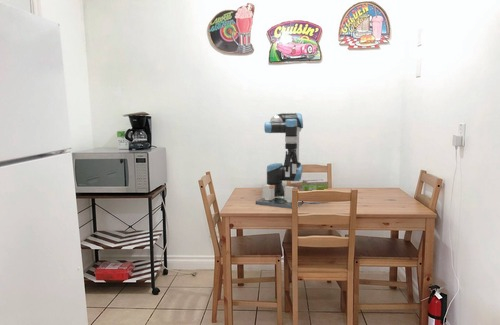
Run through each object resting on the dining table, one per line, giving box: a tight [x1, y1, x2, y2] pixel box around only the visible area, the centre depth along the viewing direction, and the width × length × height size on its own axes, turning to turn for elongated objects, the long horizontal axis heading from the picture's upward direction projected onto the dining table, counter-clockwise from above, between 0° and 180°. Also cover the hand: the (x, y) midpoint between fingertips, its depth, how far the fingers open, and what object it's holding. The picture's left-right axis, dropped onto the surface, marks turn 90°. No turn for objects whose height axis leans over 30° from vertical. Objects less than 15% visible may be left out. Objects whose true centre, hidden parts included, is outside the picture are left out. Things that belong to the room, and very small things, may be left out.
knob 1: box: [262, 183, 275, 201], centre depth 239 cm, size 8×5×10 cm, turn 39°
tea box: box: [301, 178, 329, 204], centre depth 241 cm, size 15×10×15 cm
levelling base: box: [255, 195, 304, 209], centre depth 236 cm, size 16×28×4 cm, turn 64°
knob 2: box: [283, 185, 299, 203], centre depth 232 cm, size 8×5×10 cm, turn 41°
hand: (290, 175), depth 230 cm, fingers open, 13 cm apart
